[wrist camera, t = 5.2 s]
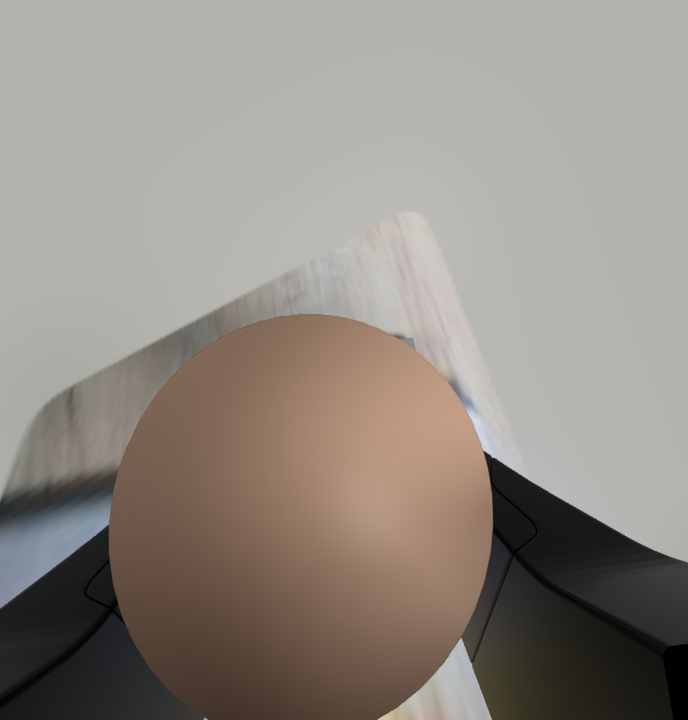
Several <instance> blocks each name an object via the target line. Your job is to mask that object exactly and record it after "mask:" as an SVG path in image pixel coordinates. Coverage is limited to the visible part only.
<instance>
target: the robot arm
mask: <svg viewBox="0 0 688 720" xmlns="http://www.w3.org/2000/svg"><path fill="white" fill-rule="evenodd" d="M483 453H484V456H485V460H486V463H487V467H488V472H489V479H490V485H491V492H492V508H493V529H492V541H491V552H490V557H489V562H488V567H487V572H486V576H485V581H484V584H483V587H482V590H481V593H480V596H479V599H478V602H477V604H476V607H475V610H474V612H473V614H472V616H471V618H470V620H469V622H468V624H467V626H466V628H465V630H464V632H463V634H462V636H461V638H462V640H463V643H464V646H465V648H466V651H467V654H468V656H469V659H470V662H471V663H472V667H473V670H474V673H475V675H476V678H477V681H478V683H479V686H480V689H481V691H482V694H483V697H484V699H485V702H486V705H487V708H488V710H489V713H490V716H491V718H492V720H688V562H685V561H681V560H678V559H675V558H672V557H669V556H667V555H664V554H662V553H659V552H657V551H654V550H652V549H650V548H648V547H646V546H644V545H642V544H640V543H638V542H635V541H634V540H632V539H630V538H628V537H627V536H625V535H623V534H621V533H620V532H617V531H616V530H614V529H612V528H611V527H609V526H607V525H605V524H604V523H602V522H600V521H598V520H597V519H595V518H593V517H591V516H589V515H588V514H586V513H584V512H583V511H581V510H579V509H577V508H576V507H574V506H572V505H570V504H569V503H567V502H565V501H563V500H562V499H560V498H558V497H556V496H554V495H553V494H551V493H549V492H548V491H546V490H545V489H543V488H541V487H539V486H538V485H536V484H534V483H533V482H531V481H529V480H528V479H526V478H525V477H523V476H522V475H520V474H518V473H517V472H515V471H514V470H512V469H511V468H509V467H507V466H506V465H504V464H503V463H501V462H500V461H498V460H497V459H495V458H492V456H491V455H489V454H488V453H486V452H485V451H483ZM0 720H204V717H203V716H201V715H200V714H198V713H196V712H195V711H193V710H192V709H190V708H189V707H188V706H187V705H186V704H184V703H183V702H182V701H181V700H180V699H178V698H177V697H176V696H175V695H174V694H172V693H171V692H170V691H169V690H168V689H167V688H166V687H165V685H164V684H163V683H162V682H161V681H160V680H159V678H158V677H157V676H156V675H155V674H154V672H153V671H152V670H151V669H150V668H149V666H148V665H147V663H146V662H145V660H144V658H143V657H142V655H141V653H140V652H139V650H138V649H137V647H136V645H135V644H134V642H133V640H132V638H131V635H130V633H129V631H128V628H127V626H126V624H125V621H124V619H123V617H122V614H121V612H120V608H119V604H118V600H117V597H116V593H115V589H114V586H113V580H112V572H111V565H110V557H109V525H108V526H107V527H105V528H104V529H103V530H102V531H100V532H99V533H98V534H97V535H96V536H94V537H93V538H92V539H90V540H89V541H88V542H87V543H85V544H84V545H83V546H81V547H80V548H79V549H78V550H76V551H75V552H74V553H73V554H71V555H70V556H69V557H67V558H66V559H65V560H64V561H62V562H61V563H60V564H58V565H57V566H56V567H54V568H53V569H52V570H50V571H49V572H48V573H46V574H45V575H44V576H43V577H41V578H40V579H39V580H37V581H36V582H35V583H33V584H32V585H31V586H29V587H28V588H27V589H25V590H24V591H23V592H22V593H20V594H19V595H18V596H16V597H15V598H14V599H12V600H11V601H10V602H8V603H7V604H6V605H4V606H3V607H2V608H1V609H0Z"/></svg>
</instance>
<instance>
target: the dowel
mask: <svg viewBox="0 0 688 720" xmlns="http://www.w3.org/2000/svg"><path fill="white" fill-rule="evenodd" d="M492 529H493V508H492V492H491V485H490V479H489V472H488V467H487V463H486V460H485V456H484V453H483V449H482V445H481V442H480V440H479V438H478V435H477V433H476V430H475V428H474V425H473V423H472V420H471V419H470V417H469V415H468V413H467V411H466V409H465V408H464V406H463V404H462V402H461V400H460V399H459V397H458V396H457V395H456V393H455V392H454V390H453V389H452V388H451V386H450V385H449V383H448V382H447V381H446V380H445V378H444V377H443V376H442V375H441V374H440V373H439V372H438V371H437V370H436V369H435V367H434V366H433V365H432V364H431V363H430V362H428V361H427V360H426V359H425V358H424V357H423V356H421V355H420V354H419V353H418V352H417V351H416V350H414V349H413V348H411V347H410V346H408V345H407V344H406V343H404V342H403V341H401V340H400V339H398V338H396V337H394V336H392V335H391V334H389V333H387V332H385V331H383V330H381V329H379V328H376V327H373V326H371V325H368V324H365V323H363V322H360V321H356V320H352V319H348V318H343V317H338V316H330V315H321V314H299V315H291V316H282V317H277V318H272V319H268V320H264V321H260V322H257V323H254V324H251V325H249V326H246V327H243V328H240V329H238V330H236V331H234V332H232V333H230V334H228V335H226V336H224V337H222V338H220V339H219V340H217V341H215V342H214V343H212V344H211V345H209V346H208V347H206V348H204V349H203V350H201V351H200V352H199V353H198V354H197V355H195V356H194V357H193V358H192V359H190V360H189V361H188V362H187V363H185V364H184V365H183V366H182V367H181V368H180V369H179V370H178V371H177V372H176V373H175V374H174V375H173V376H172V377H171V378H170V379H169V380H168V381H167V383H166V384H165V385H164V386H163V388H162V389H161V390H160V391H159V393H158V394H157V395H156V396H155V398H154V399H153V400H152V402H151V403H150V405H149V406H148V408H147V410H146V411H145V413H144V414H143V416H142V417H141V419H140V421H139V422H138V424H137V426H136V429H135V431H134V433H133V435H132V437H131V439H130V441H129V443H128V445H127V448H126V451H125V453H124V456H123V459H122V462H121V465H120V467H119V470H118V474H117V479H116V483H115V487H114V491H113V496H112V503H111V512H110V520H109V557H110V565H111V572H112V580H113V586H114V589H115V593H116V597H117V600H118V604H119V608H120V612H121V614H122V617H123V619H124V621H125V624H126V626H127V628H128V631H129V633H130V635H131V638H132V640H133V642H134V644H135V645H136V647H137V649H138V650H139V652H140V653H141V655H142V657H143V658H144V660H145V662H146V663H147V665H148V666H149V668H150V669H151V670H152V671H153V672H154V674H155V675H156V676H157V677H158V678H159V680H160V681H161V682H162V683H163V684H164V685H165V687H166V688H167V689H168V690H169V691H170V692H171V693H172V694H174V695H175V696H176V697H177V698H178V699H180V700H181V701H182V702H183V703H184V704H186V705H187V706H188V707H189V708H190V709H192V710H193V711H195V712H196V713H198V714H200V715H201V716H203V717H205V718H207V719H208V720H377V719H379V718H380V717H382V716H384V715H385V714H387V713H389V712H390V711H392V710H394V709H396V708H397V707H399V706H400V705H401V704H402V703H403V702H405V701H406V700H407V699H408V698H410V697H411V696H412V695H413V694H414V693H416V692H417V691H418V690H419V689H420V688H422V687H423V686H424V684H425V683H426V682H427V681H428V680H429V679H430V678H431V677H432V676H433V675H434V673H435V672H436V671H437V670H438V669H439V668H440V667H441V666H442V665H443V663H444V662H445V660H446V659H447V657H448V656H449V654H450V653H451V652H452V650H453V649H454V647H455V646H456V644H457V643H458V641H459V640H460V638H461V636H462V634H463V632H464V630H465V628H466V626H467V624H468V622H469V620H470V618H471V616H472V614H473V612H474V610H475V607H476V604H477V602H478V599H479V596H480V593H481V590H482V587H483V584H484V581H485V576H486V572H487V567H488V562H489V557H490V552H491V541H492Z"/></svg>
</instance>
